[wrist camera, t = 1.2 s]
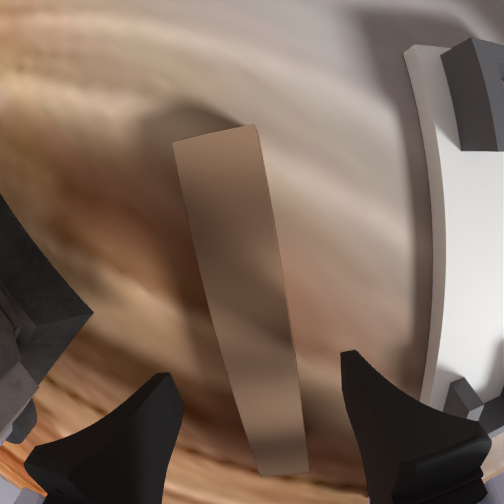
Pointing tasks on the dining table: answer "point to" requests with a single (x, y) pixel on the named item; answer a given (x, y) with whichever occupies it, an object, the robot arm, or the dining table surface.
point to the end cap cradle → (464, 225)
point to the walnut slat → (245, 289)
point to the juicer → (29, 324)
